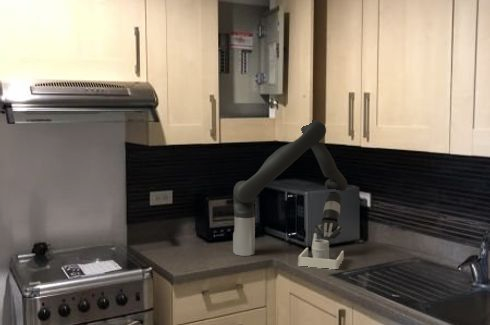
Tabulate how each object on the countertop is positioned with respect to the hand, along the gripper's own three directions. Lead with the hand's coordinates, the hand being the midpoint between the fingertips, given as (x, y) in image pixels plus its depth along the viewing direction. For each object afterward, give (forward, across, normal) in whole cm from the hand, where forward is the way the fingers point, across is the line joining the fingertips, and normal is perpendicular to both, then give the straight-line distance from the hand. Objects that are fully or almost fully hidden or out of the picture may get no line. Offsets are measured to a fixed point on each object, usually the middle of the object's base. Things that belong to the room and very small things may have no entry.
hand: (325, 245), depth 240 cm
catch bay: (+10, 0, -3) cm, 11 cm away
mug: (+10, -1, -2) cm, 11 cm away
